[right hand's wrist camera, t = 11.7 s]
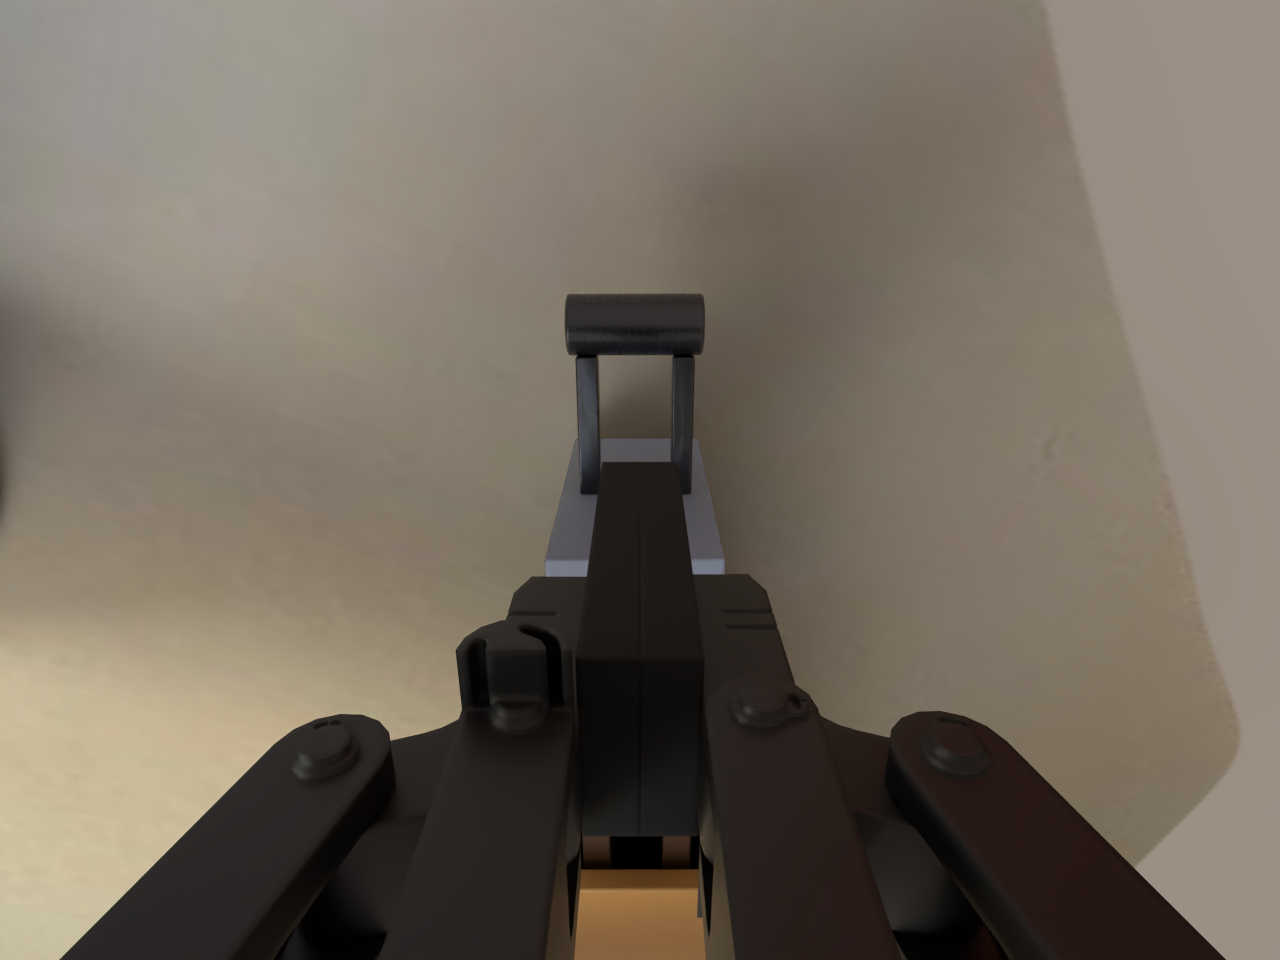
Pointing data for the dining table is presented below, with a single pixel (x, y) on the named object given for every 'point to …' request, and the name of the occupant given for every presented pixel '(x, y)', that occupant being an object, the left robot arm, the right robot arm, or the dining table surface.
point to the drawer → (633, 331)
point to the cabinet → (640, 913)
